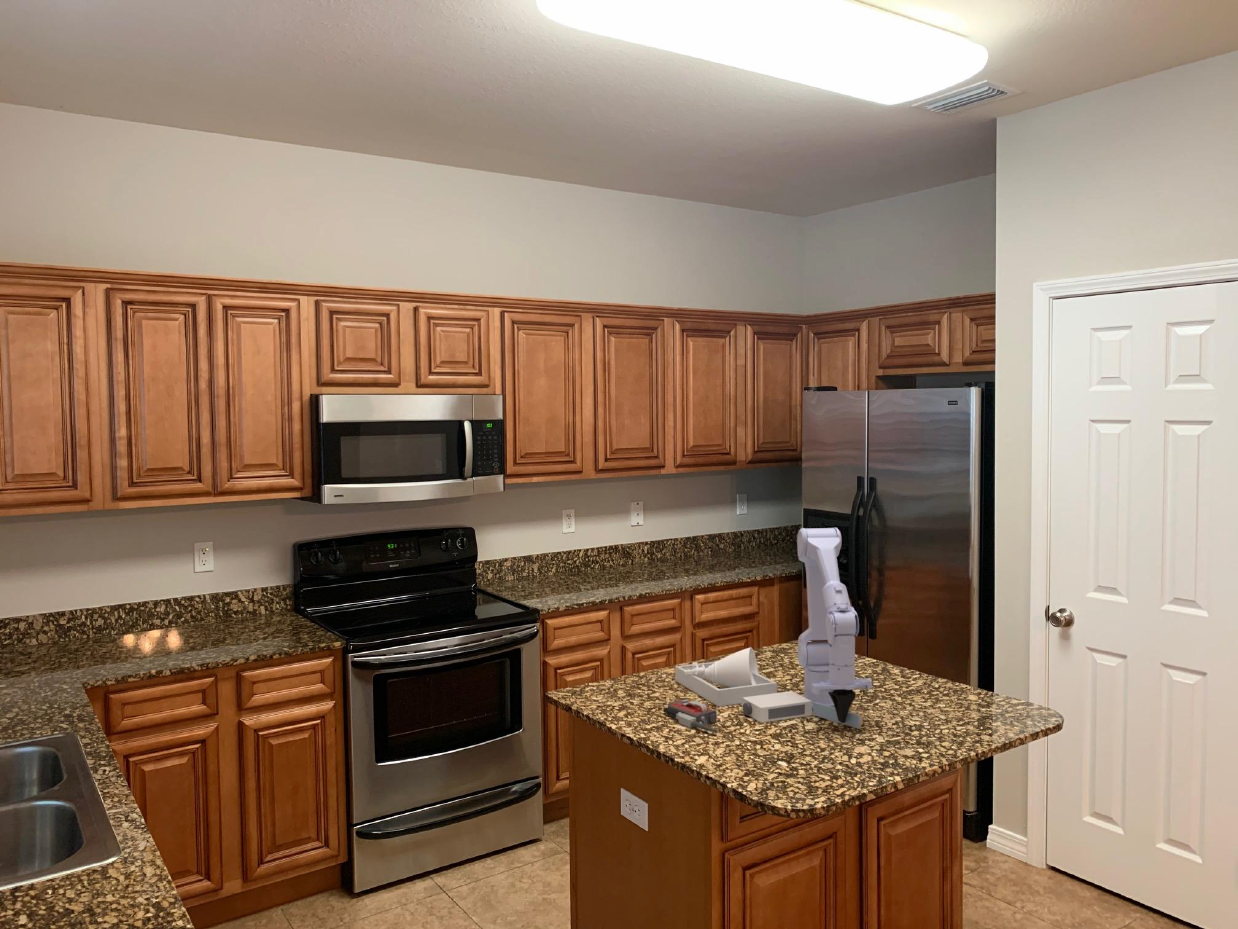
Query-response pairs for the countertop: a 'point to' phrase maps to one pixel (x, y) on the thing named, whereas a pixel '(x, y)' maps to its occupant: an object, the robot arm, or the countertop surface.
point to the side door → (831, 714)
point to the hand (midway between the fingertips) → (841, 721)
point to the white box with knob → (776, 706)
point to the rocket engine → (729, 670)
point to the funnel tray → (723, 695)
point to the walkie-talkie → (692, 714)
